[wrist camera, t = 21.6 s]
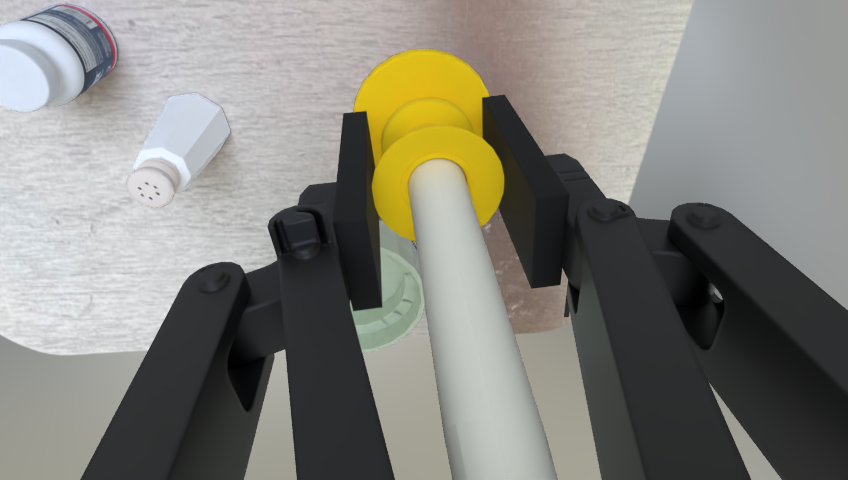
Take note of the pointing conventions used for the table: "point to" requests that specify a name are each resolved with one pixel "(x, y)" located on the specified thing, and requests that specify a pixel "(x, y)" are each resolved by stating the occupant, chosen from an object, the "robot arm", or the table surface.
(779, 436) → the robot arm
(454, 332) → the candle
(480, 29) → the table surface
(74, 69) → the pill bottle
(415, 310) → the bowl
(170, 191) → the pepper shaker
